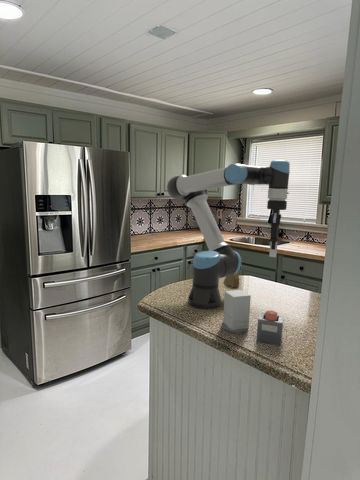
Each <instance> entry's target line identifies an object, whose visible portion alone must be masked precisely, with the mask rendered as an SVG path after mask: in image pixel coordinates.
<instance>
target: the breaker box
mask: <svg viewBox="0 0 360 480" xmlns="http://www.w3.org/2000/svg"><path fill="white" fill-rule="evenodd" d="M265 313H266V312H263V311H260V313H259V315H258V318H257V326H256V327H257V328H256V342H259V341H260V343H264V342H265V343H264V344H269V343H270V345H274V344H276V345H275V346H280V345H282V339H283V328H284V320H285V319H284V315H282V314H277V321H273V320H267V319H265Z"/></svg>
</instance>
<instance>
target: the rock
mask: <svg viewBox="0 0 360 480" xmlns="http://www.w3.org/2000/svg"><path fill="white" fill-rule="evenodd" d="M223 283H224V284H225V285H227V286H230V287H233V288H237V289H238V288H239V287H240V276H239V271H238V272H237V273H236V274H233V275H231V276H226V277H224V280H223Z"/></svg>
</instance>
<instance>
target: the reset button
mask: <svg viewBox="0 0 360 480" xmlns="http://www.w3.org/2000/svg"><path fill="white" fill-rule="evenodd" d="M264 313H265V319H267V320H273V321H277V315H279V314H278V312H277V311H276V310H275V311H274V310H266V311H265V312H264Z"/></svg>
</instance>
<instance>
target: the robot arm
mask: <svg viewBox="0 0 360 480" xmlns="http://www.w3.org/2000/svg"><path fill="white" fill-rule="evenodd" d="M290 164H291V163H290V161H288V160H281V159H280V160H276V159H275V160H272V161H271V162H270V164H269V166H268V165H267V166H258V165H247V164H243V163H242V164H241V163H230V164H229V165H227V166H226V167H223V168H217V169H214V170H208V171H205V172H200V173H195V174H192V175H185V174H182V175H181V174H180V175H176V176H173V177H171V178H169V180H168V181H167V185H166V190H167V193H168V195H169V196H170V197H171V198H172V199H173V200H177V201H184V203H185V206H186V207H188V208H190V209H191V211H192V214H193V217H194V219H195V221H196V223H197V225H198V228H199V229H200V232H201V234H202V237H203V239H204V241H205V244H206V246H207V248H208V250H203V251H199V252H197V253H195V254H194V256H193V261H192V286H191V290H190V292H189V294H188V298H187V304H188V305H189V306H190V307H192V308H195V309H198V310H199V309H200V310H215V309H218V308H220V307H221V306H222V297H221V293H220V290H219V281H220V280H219V279H222V278H226V276H231V275H233V274H236V273H237V272H238V273H239V271H240V269H241V267H242V257H241V255H240V253H238V251H235V250H233V248H232V247H231V244H229V243H227V242H226V241H225V239H224V237H223V234H222V232H221V230H220V228H219V226H218V224H217V221H216V219H215V216H214V215H213V212H212V211H211V208H210V205H209V204H208V202H207V200H208V198H209V197H208V196H209V195H208V193H209V190H211V189H217V188H223V187H228V186H234V185H242V184H243V185H250V186H256V185H260V186H261V185H263V186H264V185H265V186H268V188H267V189H268V190H267V199H268V200H267V205H266V206H267V207H266V209H267V210H272V213H270V238H269V239H268V242H270V243H269V256H268V257H270V258H277V251H278V242H280V238H279V231H280V225H281V219H282V213H281V211H286V210H287V205H288V204H287V203H288V201H287V200H288V195H289V194H290V191H288V189H289V180H290V173H291V172H290V171H291V170H290V166H291V165H290Z"/></svg>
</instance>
